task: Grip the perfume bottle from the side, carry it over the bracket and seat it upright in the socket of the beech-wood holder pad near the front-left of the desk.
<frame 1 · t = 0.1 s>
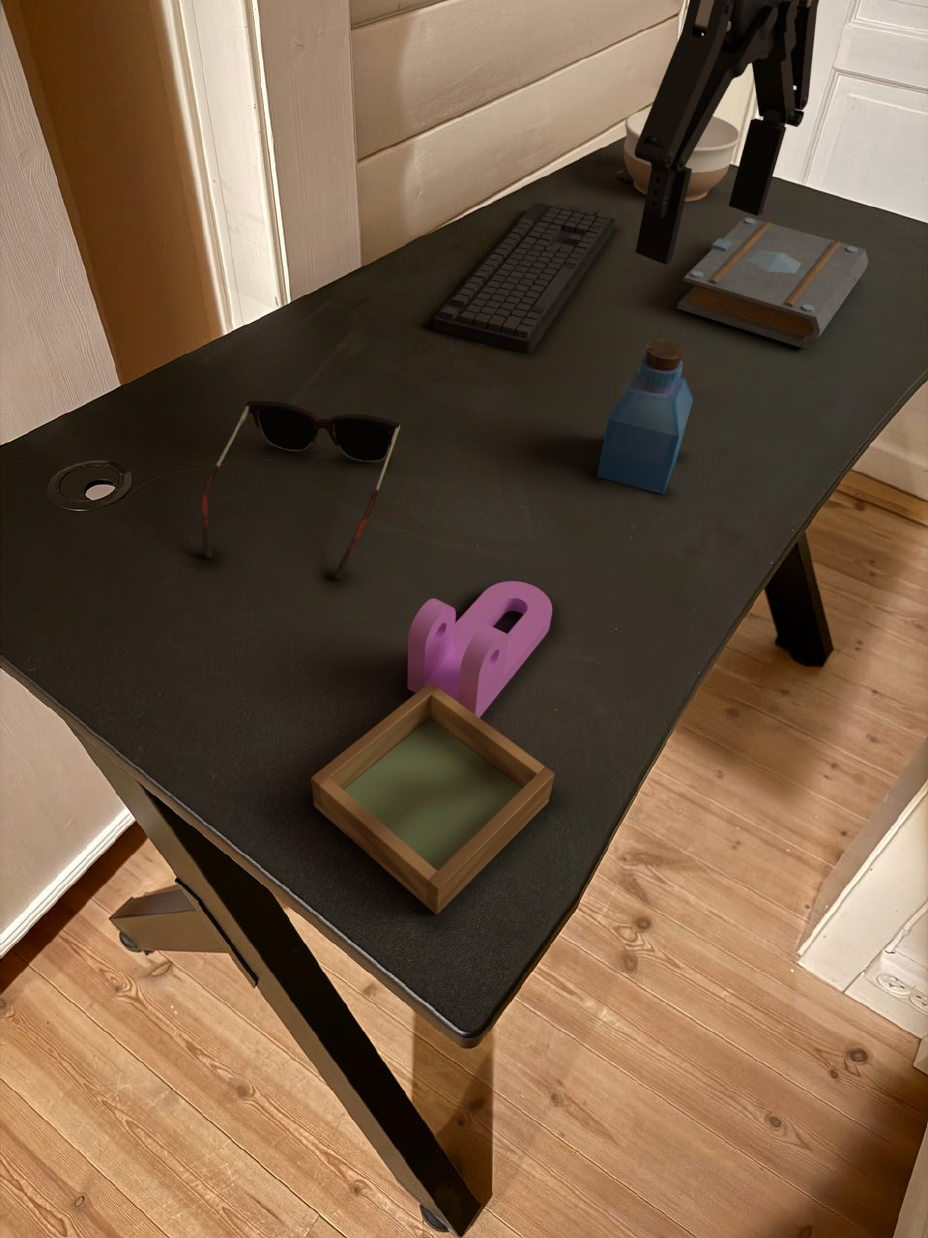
hand: (701, 232, 71), 21 cm above the table, tool pointing down, fingers open, 13 cm apart
bowl: (670, 187, 131), on the table
holder: (432, 804, 58), on the table
bracket: (488, 651, 67), on the table
book: (769, 298, 109), on the table
keyboard: (531, 276, 110), on the table
sunglasses: (301, 510, 77), on the table
perfume bottle: (637, 468, 84), on the table
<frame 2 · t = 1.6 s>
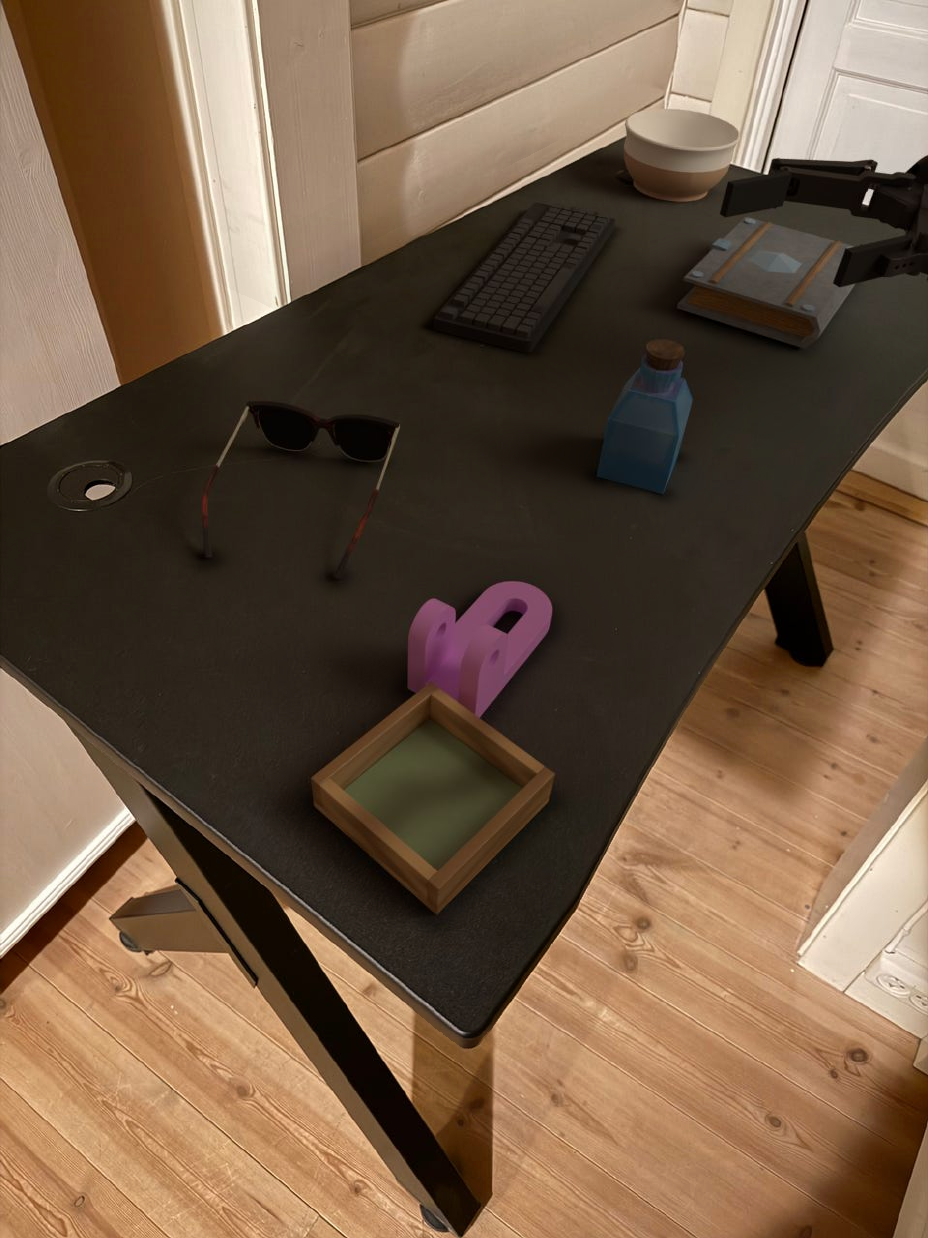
hand: (780, 232, 73), 20 cm above the table, tool horizontal, fingers open, 13 cm apart
nothing on the table moved.
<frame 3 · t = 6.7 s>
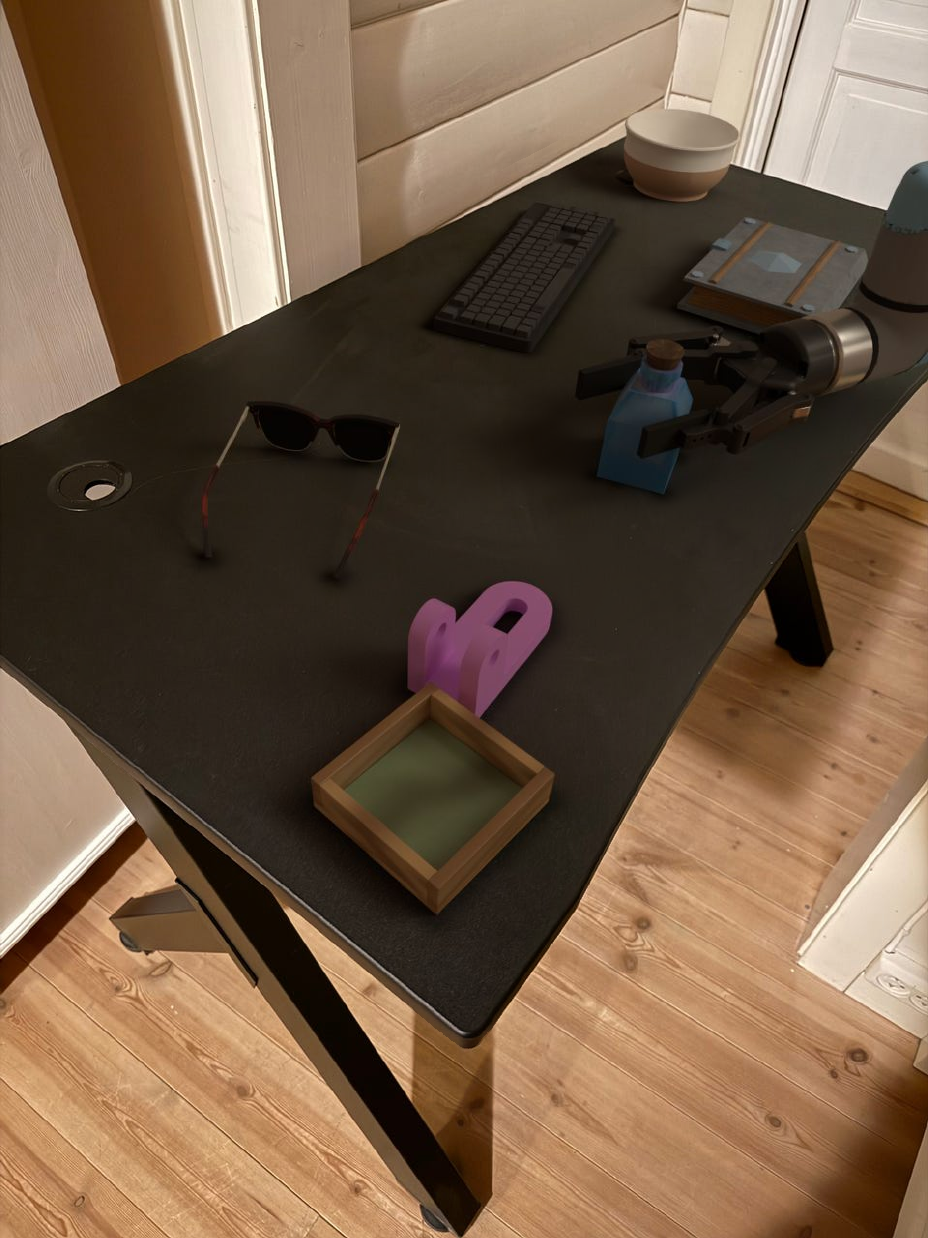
hand: (609, 413, 77), 7 cm above the table, tool horizontal, fingers closed on perfume bottle, 9 cm apart
perfume bottle: (637, 468, 84), on the table, touching gripper
everything else where it was.
when the fingers open (8 cm above the table, at t = 20.2 s): perfume bottle stays where it is, resting on holder.
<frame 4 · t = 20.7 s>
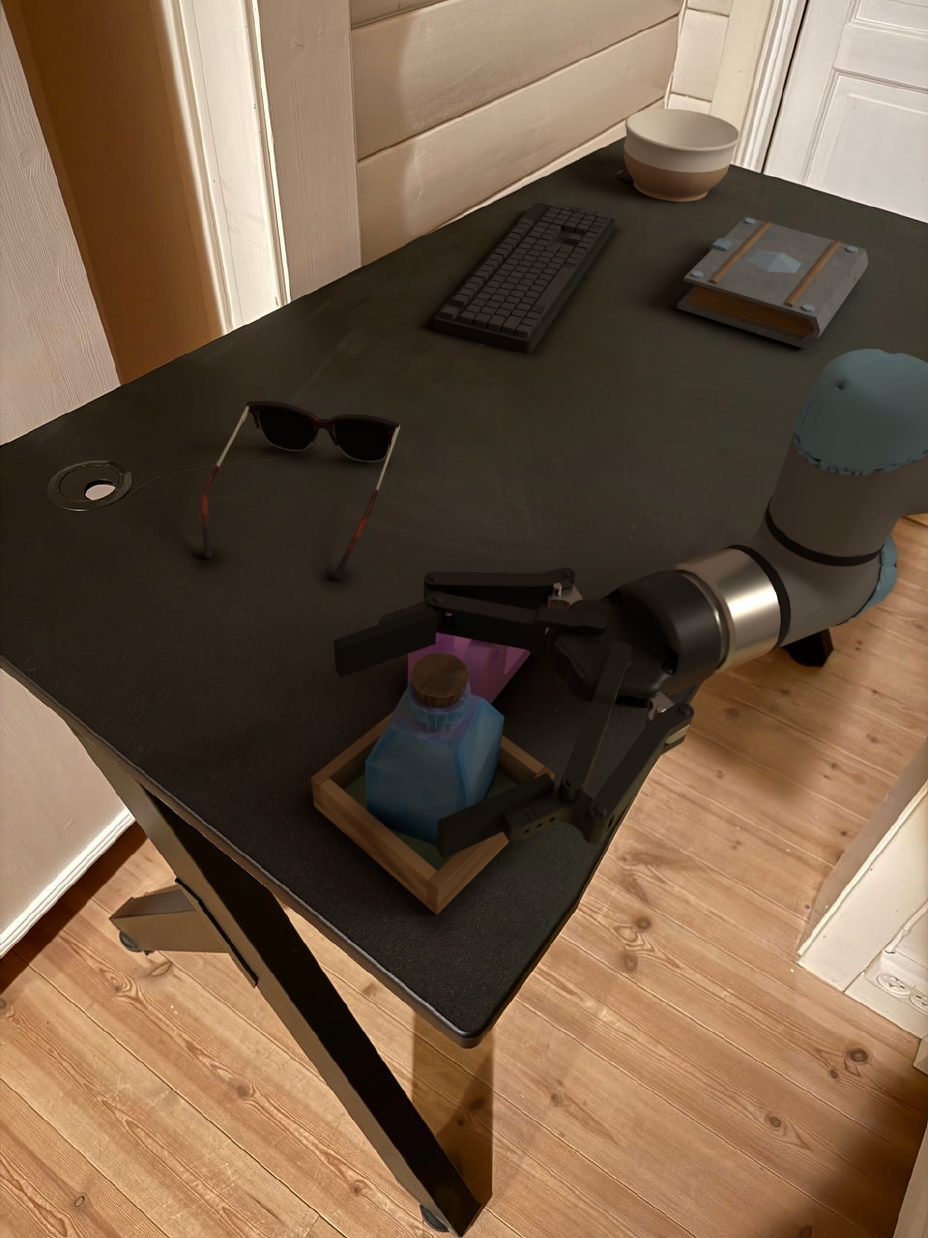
hand: (383, 742, 50), 9 cm above the table, tool horizontal, fingers open, 13 cm apart
perfume bottle: (433, 799, 57), point 1 cm above the table, touching holder
everything else where it was.
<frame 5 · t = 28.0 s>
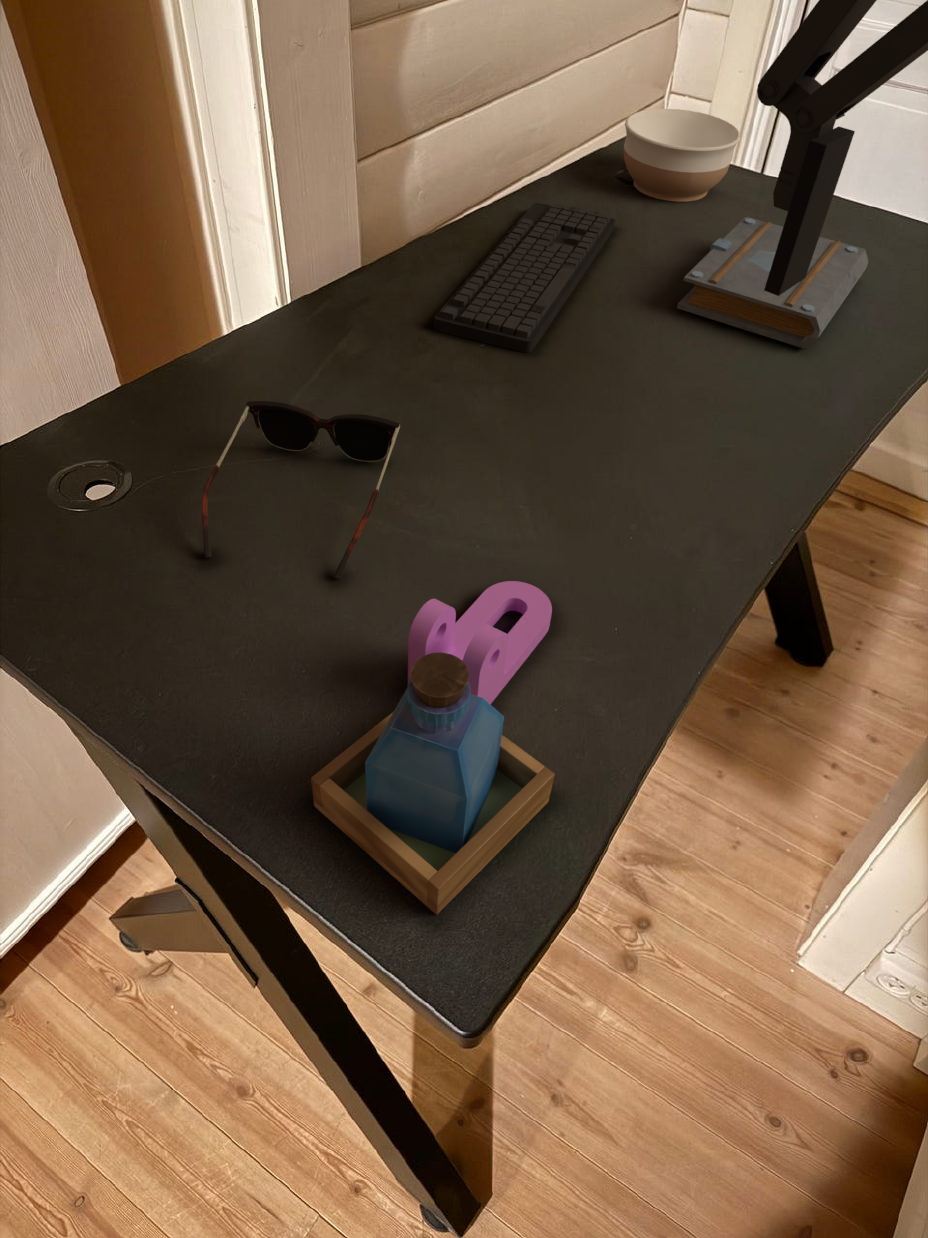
hand: (923, 339, 40), 31 cm above the table, tool pointing down, fingers open, 13 cm apart
nothing on the table moved.
at the end: perfume bottle 0.1 cm off-centre in the holder, point 0.6 cm above the holder's base; perfume bottle tilted 0°; the gripper is holding nothing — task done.
